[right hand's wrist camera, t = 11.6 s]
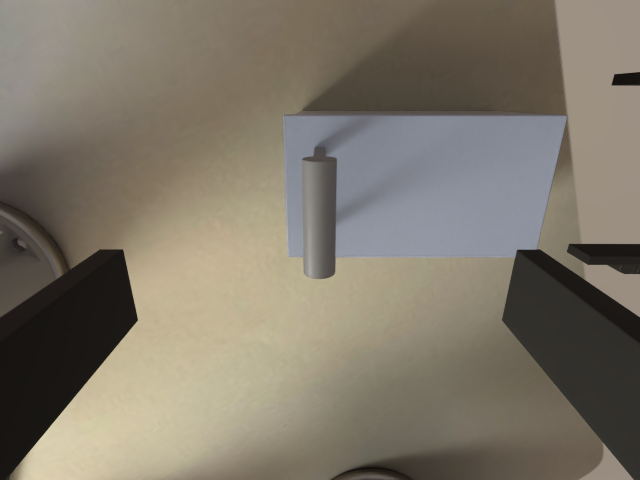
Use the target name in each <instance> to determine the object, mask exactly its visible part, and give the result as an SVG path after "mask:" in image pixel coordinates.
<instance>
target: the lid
mask: <svg viewBox="0 0 640 480" xmlns="http://www.w3.org/2000/svg"><path fill="white" fill-rule="evenodd" d="M566 121H567V115H284V116H283V132H284V161H285V190H286V219H287V248H288V257H304V274H305V275H306V276H308V277H310V278H314V279H325V278H329V277H331V276H333V275H334V274H335V257H516V252H517V250H537V246H538V242H539V238H540V233H541V229H542V225H543V220H544V216H545V212H546V207H547V203H548V199H549V194H550V190H551V186H552V181H553V177H554V173H555V169H556V164H557V160H558V156H559V151H560V147H561V143H562V138H563V134H564V130H565V125H566Z"/></svg>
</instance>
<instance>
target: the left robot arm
mask: <svg viewBox="0 0 640 480" xmlns="http://www.w3.org/2000/svg"><path fill="white" fill-rule="evenodd" d="M612 85H640V72H636V73H625V74H615V75H614V78H613V82H612ZM567 252H568V253H570V254H571V255H573V256H575V257H576V258H578V259H580V260H581V261H583V262H584V263H586V264H588V265H609V266H610V267H612V268H614V269H616V270H617V271H619V272H621V273H624V274H640V244H569V246H568V250H567ZM333 480H410V479H409V478H407V477H405V476H404V475H402V474H399V473H397V472H394V471H390V470H385V469H360V470H355V471H351V472H348V473H345V474H343V475H340V476H338V477H336V478H335V479H333Z"/></svg>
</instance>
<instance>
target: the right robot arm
mask: <svg viewBox="0 0 640 480" xmlns="http://www.w3.org/2000/svg"><path fill="white" fill-rule="evenodd" d="M137 321H138V318H137V314H136V309H135V304H134V299H133V295H132V290H131V285H130V280H129V276H128V271H127V266H126V261H125V257H124V252H123V250H99V251H97V252H96V253H94V254H93V255H91V256H90V257H88V258H87V259H85V260H84V261H83V262H81V263H80V264H78V265H77V266H75V267H74V268H72V269H71V270H69V271H68V269H67V266H66V263H65V260H64V258H63V256H62V254H61V252H60V250H59V248H58V247H57V245H56V244H55V242H54V241H53V240H52V238H51V237H50V236H49V235H48V234H47V233H46V232H45V230H43V229H42V228H41V227H40V226H39V225H38V224H37V223H36V222H34V221H33V220H32V219H30V218H29V217H28V216H26V215H25V214H23V213H21V212H20V211H18V210H16V209H14V208H12V207H10V206H7V205H5V204H3V203H0V480H9V478H10V474H11V473H12V472H13V471H14V469H15V468H16V467H17V466H18V465H19V463H20V462H21V461H22V460H23V459H24V457H25V456H26V455H27V454H28V452H29V451H30V450H31V449H32V448H33V446H34V445H35V444H36V443H37V442H38V440H39V439H40V438H41V437H42V436H43V434H44V433H45V432H46V431H47V430H48V428H49V427H50V426H51V425H52V423H53V422H54V421H55V420H56V419H57V417H58V416H59V415H60V414H61V413H62V411H63V410H64V409H65V408H66V407H67V405H68V404H69V403H70V402H71V401H72V399H73V398H74V397H75V396H76V394H77V393H78V392H79V391H80V390H81V388H82V387H83V386H84V385H85V384H86V382H87V381H88V380H89V379H90V378H91V376H92V375H93V374H94V373H95V372H96V370H97V369H98V368H99V367H100V365H101V364H102V363H103V362H104V361H105V359H106V358H107V357H108V356H109V355H110V353H111V352H112V351H113V350H114V349H115V347H116V346H117V345H118V344H119V343H120V341H121V340H122V339H123V338H124V336H125V335H126V334H127V333H128V332H129V330H130V329H131V328H132V327H133V326H134V324H135V323H136V322H137ZM502 321H503V322H504V323H505V324H506V326H507V327H508V328H509V329H510V330H511V332H512V333H513V334H514V335H515V336H516V338H517V339H518V340H519V341H520V343H521V344H522V345H523V346H524V347H525V349H526V350H527V351H528V352H529V353H530V355H531V356H532V357H533V358H534V359H535V361H536V362H537V363H538V364H539V365H540V367H541V368H542V369H543V370H544V372H545V373H546V374H547V375H548V376H549V378H550V379H551V380H552V381H553V382H554V384H555V385H556V386H557V387H558V388H559V390H560V391H561V392H562V393H563V394H564V396H565V397H566V398H567V399H568V401H569V402H570V403H571V404H572V405H573V407H574V408H575V409H576V410H577V411H578V413H579V414H580V415H581V416H582V417H583V419H584V420H585V421H586V422H587V423H588V425H589V426H590V427H591V428H592V430H593V431H594V432H595V433H596V434H597V436H598V437H599V438H600V439H601V440H602V442H603V443H604V444H605V445H606V446H607V448H608V449H609V450H610V451H611V452H612V454H613V455H614V456H615V457H616V458H617V460H618V461H619V462H620V463H621V465H622V466H623V467H624V468H625V469H626V471H627V472H628V473H629V474H630V475H631V477H632V478H633V479H634V480H640V317H638V316H637V315H636V314H634V313H633V312H631V311H630V310H628V309H627V308H625V307H624V306H622V305H621V304H619V303H618V302H616V301H615V300H613V299H612V298H610V297H609V296H608V295H606V294H605V293H603V292H602V291H600V290H599V289H597V288H596V287H594V286H593V285H591V284H590V283H588V282H587V281H585V280H584V279H583V278H581V277H580V276H578V275H577V274H575V273H574V272H572V271H571V270H569V269H568V268H566V267H565V266H563V265H562V264H560V263H559V262H557V261H556V260H555V259H553V258H552V257H550V256H549V255H547V254H546V253H544V252H543V251H541V250H517V252H516V257H515V261H514V266H513V271H512V276H511V280H510V285H509V290H508V295H507V299H506V304H505V309H504V314H503V318H502Z"/></svg>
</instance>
